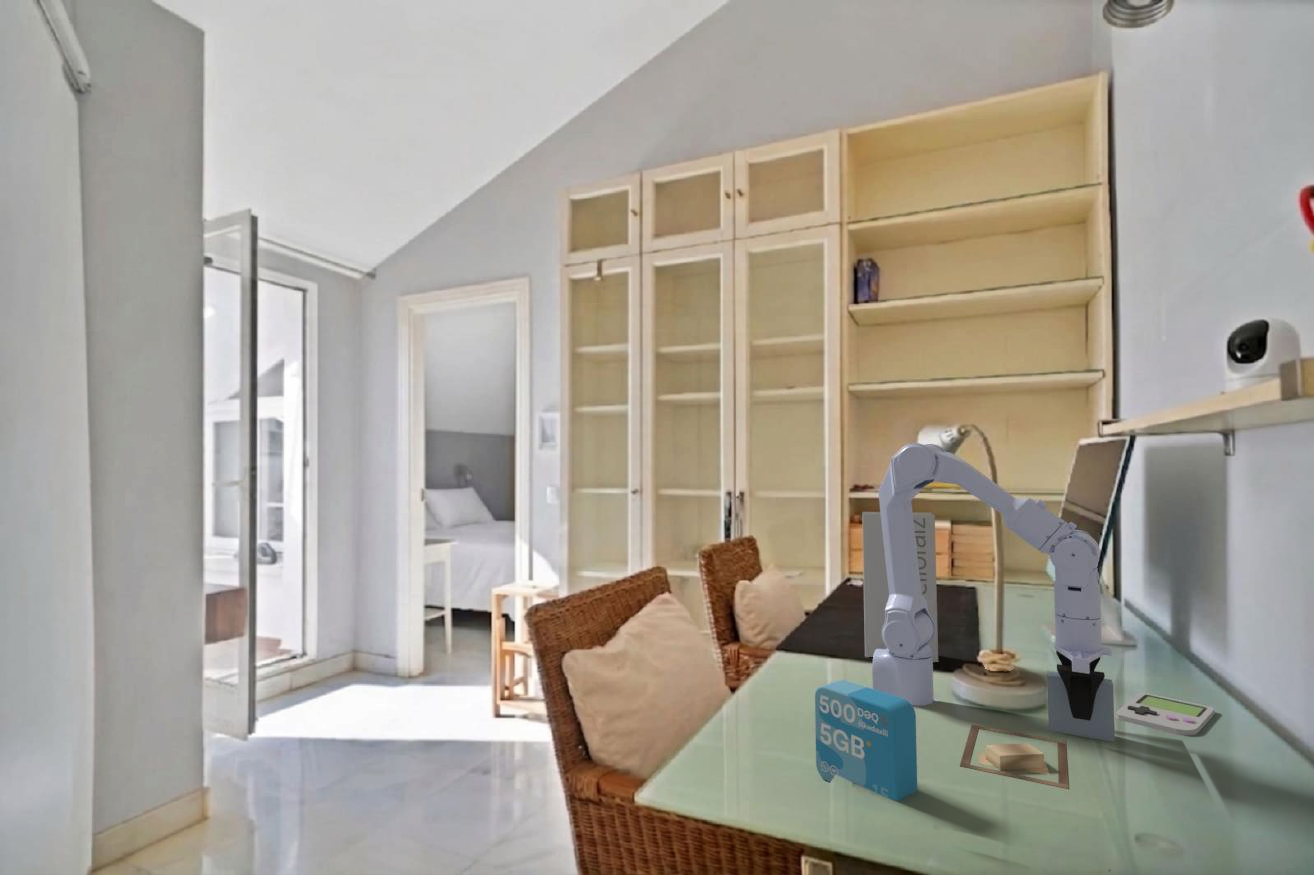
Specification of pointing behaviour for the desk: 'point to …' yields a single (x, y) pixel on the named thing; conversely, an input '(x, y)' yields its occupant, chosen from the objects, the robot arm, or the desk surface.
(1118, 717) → the handheld gaming console
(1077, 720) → the slate sheet
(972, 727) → the walnut frame
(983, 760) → the lower offcut
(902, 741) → the data package
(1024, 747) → the upper offcut
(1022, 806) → the desk surface
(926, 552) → the grey lettered box
